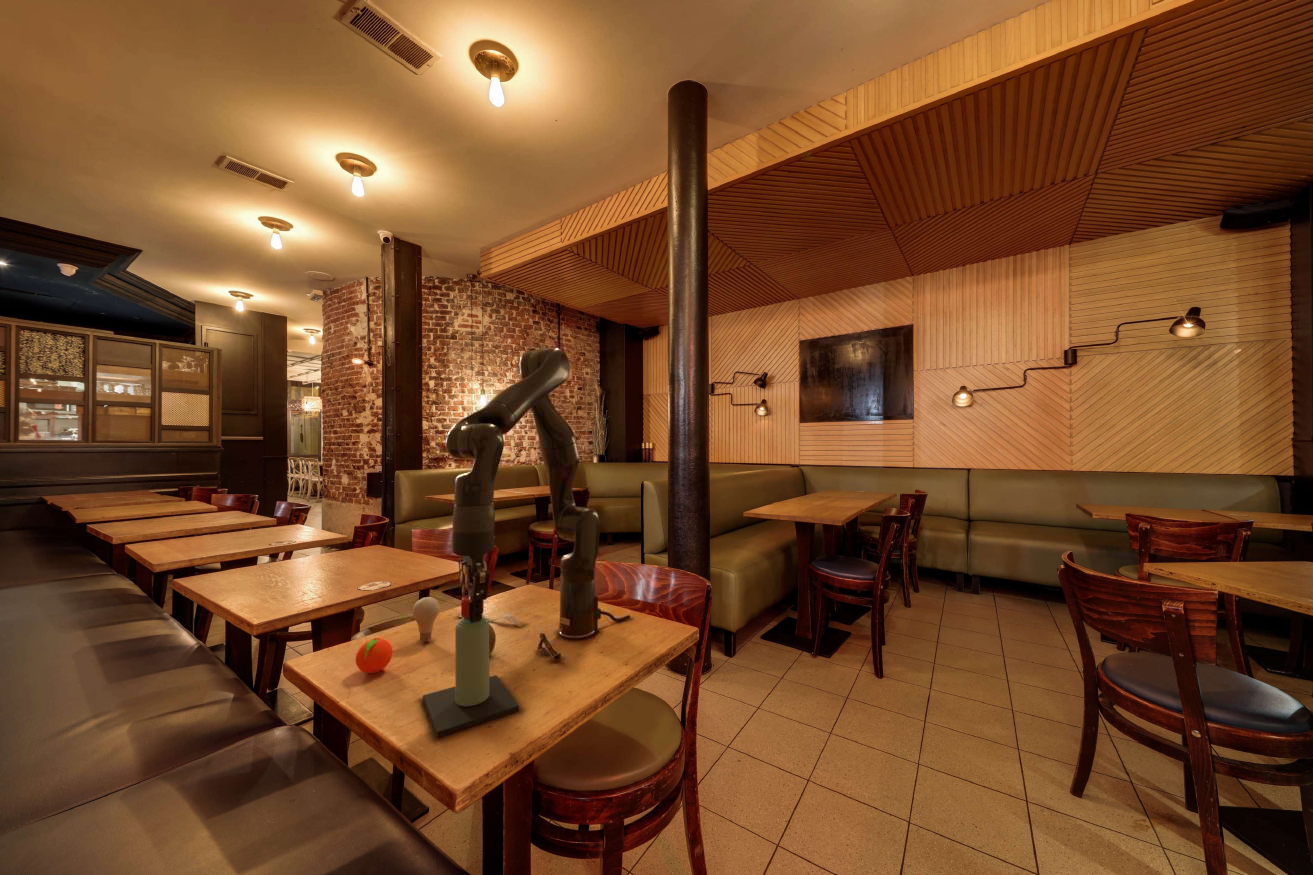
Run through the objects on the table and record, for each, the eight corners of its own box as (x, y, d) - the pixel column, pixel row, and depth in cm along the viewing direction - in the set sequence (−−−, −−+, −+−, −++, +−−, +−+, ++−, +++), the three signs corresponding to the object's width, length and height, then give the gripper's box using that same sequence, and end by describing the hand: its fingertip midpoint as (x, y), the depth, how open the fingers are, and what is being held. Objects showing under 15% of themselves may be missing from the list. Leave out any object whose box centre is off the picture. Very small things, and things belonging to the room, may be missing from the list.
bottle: (484, 685, 91) (484, 592, 92) (493, 699, 86) (493, 601, 87) (452, 695, 88) (452, 598, 88) (459, 710, 83) (459, 608, 83)
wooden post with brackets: (540, 644, 112) (544, 629, 111) (556, 668, 107) (561, 652, 105) (533, 646, 110) (537, 631, 109) (550, 670, 105) (555, 655, 104)
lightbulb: (418, 636, 118) (419, 593, 118) (442, 636, 118) (443, 593, 118) (407, 647, 112) (408, 601, 112) (433, 646, 112) (434, 601, 112)
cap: (459, 613, 88) (459, 596, 88) (480, 609, 90) (480, 592, 90) (464, 619, 85) (464, 602, 85) (485, 615, 87) (485, 597, 87)
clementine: (382, 680, 96) (383, 646, 96) (346, 683, 94) (346, 648, 95) (397, 663, 103) (398, 631, 104) (364, 665, 102) (364, 633, 102)
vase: (484, 664, 103) (485, 625, 103) (457, 661, 104) (458, 622, 105) (501, 651, 110) (501, 614, 110) (475, 648, 111) (475, 612, 111)
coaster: (496, 679, 97) (496, 674, 97) (518, 710, 85) (518, 705, 85) (422, 700, 88) (423, 695, 88) (436, 738, 77) (437, 732, 77)
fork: (464, 622, 133) (463, 613, 134) (525, 624, 127) (524, 613, 127) (457, 626, 131) (456, 616, 131) (519, 627, 124) (518, 617, 124)
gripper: (505, 531, 84) (503, 625, 84) (483, 520, 96) (482, 603, 95) (461, 535, 80) (460, 634, 79) (445, 523, 91) (443, 610, 91)
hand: (472, 617), depth 87 cm, fingers closed on cap, 3 cm apart
